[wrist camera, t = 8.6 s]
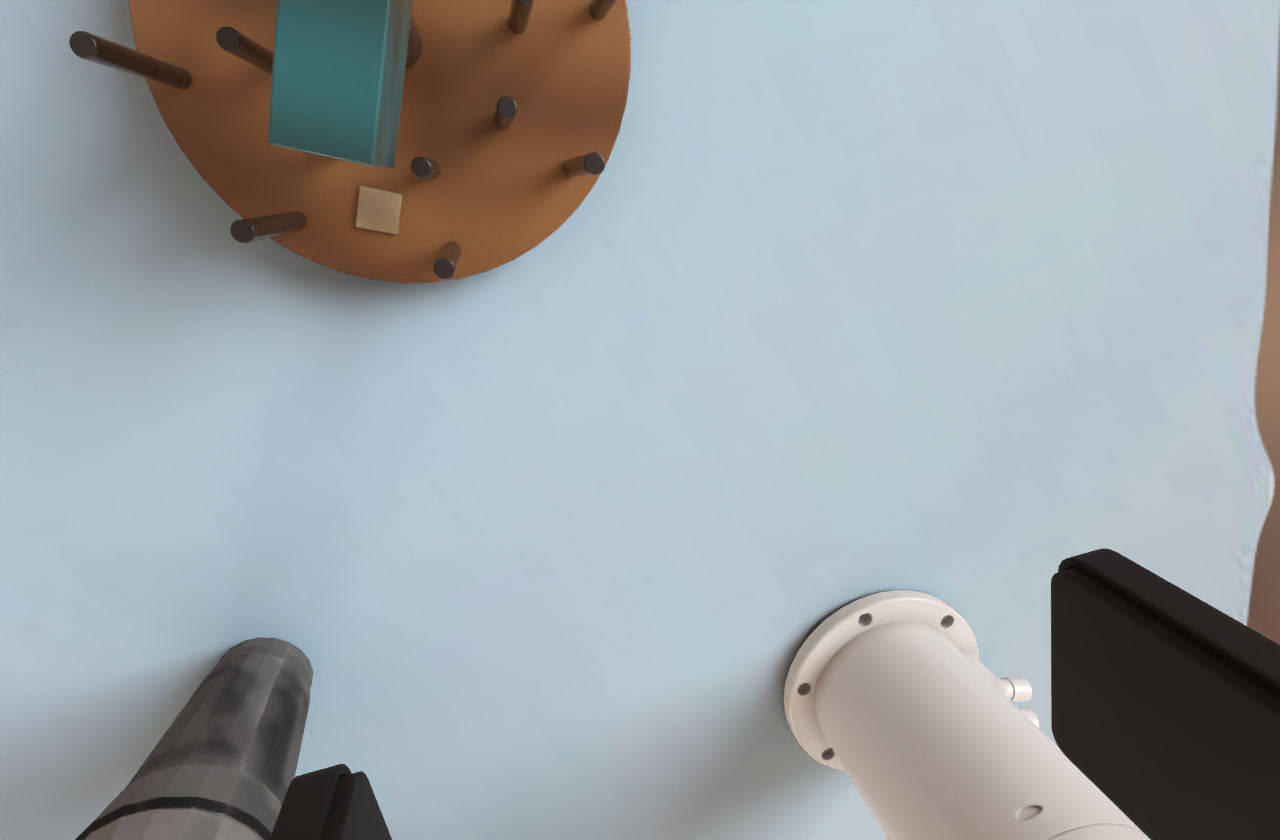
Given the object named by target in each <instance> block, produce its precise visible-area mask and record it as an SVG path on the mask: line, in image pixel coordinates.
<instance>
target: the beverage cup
mask: <svg viewBox="0 0 1280 840" xmlns="http://www.w3.org/2000/svg"><path fill="white" fill-rule="evenodd" d="M312 675H313V670H312V667H311V664H310V661H309V659H308V658H307V657H306V656H305V654H304V653H303V652H302V651H301V650H300V649H298V648H297V647H295V646H294V645H292V644H291V643H289V642H285V641H282V640H279V639H275V638H256V639H252V640H247V641H244V642H242V643H240V644H238V645H236V646H234V647H232V648H231V649H230V650H229V651H228V652H227V653H226V654H225V655H224V656H223V657H222V659H221V661H220V663H219V664H218V665H217V666H216V667H215V668H214V669H213V670H212V671H211V672H210V673H209V674H208V675H207V677H206V678H205V679H204V681H203V682H202V683H201V685H200V686H199V688H198V689H197V690H196V692H195V693H194V695H193V696H192V697H191V699H190V700H189V701H188V703H187V704H186V706H185V707H184V708H183V710H182V711H181V712H180V714H179V715H178V717H177V718H176V719H175V721H174V722H173V723H172V725H171V726H170V728H169V729H168V730H167V732H166V733H165V734H164V736H163V737H162V739H161V740H160V741H159V743H158V744H157V746H156V747H155V748H154V750H153V751H152V752H151V754H150V755H149V757H148V758H147V759H146V761H145V762H144V763H143V765H142V766H141V768H140V769H139V770H138V772H137V773H136V774H135V776H134V777H133V779H132V780H131V781H130V783H129V784H128V785H127V787H126V788H125V789H124V790H123V791H122V792H121V793H120V794H119V795H118V796H117V797H116V798H115V799H114V800H113V801H112V802H111V803H110V804H109V805H108V807H107V808H106V809H105V810H104V811H103V812H102V813H101V814H100V815H99V816H98V817H97V819H96V820H95V821H94V822H93V823H92V824H91V825H89V826H88V827H87V828H86V829H85V830H84V831H83V832H82V833H81V834H80V835H79V836H78V837H77V838H76V839H75V840H270V837H271V834H272V832H273V829H274V826H275V823H276V820H277V818H278V815H279V812H280V809H281V807H282V804H283V801H284V798H285V795H286V793H287V790H288V787H289V785H290V783H291V781H292V780H293V779H294V778H295V773H296V768H297V763H298V758H299V753H300V748H301V743H302V738H303V733H304V728H305V723H306V718H307V713H308V708H309V701H310V687H311V684H312Z"/></svg>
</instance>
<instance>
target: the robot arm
mask: <svg viewBox="0 0 1280 840" xmlns="http://www.w3.org/2000/svg"><path fill="white" fill-rule="evenodd" d="M1051 696H1052V732H1053V735H1054V739H1055V741H1056V743H1057V745H1058V747H1059V748H1060V749H1059V748H1058V747H1057V746H1056V745H1055V744H1054V743H1053V742H1052V741H1051V740H1050V739H1049V738H1048V737H1047V736H1046V735H1045V734H1044V733H1043V732H1042V731H1041V730H1040V729H1039V727H1040V725H1039V722H1038V718H1037V716H1036V715H1035V713H1034V712H1033V711H1032V710H1031V709H1029V708H1027V707H1016V706H1015V705H1014V704H1013V703H1012V702H1021V701H1029V700H1030V698H1031V697H1032V688H1031V685H1030V683H1029V682H1028V681H1027V680H1026V679H1024V678H1002V679H998V678H997V677H996V676H995V675H994V674H993V673H991V672H990V671H989V670H988V669H987V668H986V667H985V666H984V665H983V664H982V663H981V662H980V661H979V652H978V648H977V643H976V639H975V636H974V635H973V633H972V631H971V629H970V627H969V625H968V624H967V623H966V621H965V620H964V619H963V618H962V617H961V616H960V615H959V614H958V613H957V612H956V611H955V610H954V609H952V608H951V607H950V606H949V605H948V604H946V603H945V602H944V601H942V600H940V599H938V598H936V597H934V596H932V595H930V594H926V593H922V592H917V591H910V590H893V591H886V592H880V593H876V594H872V595H869V596H866V597H863V598H860V599H858V600H856V601H854V602H852V603H850V604H848V605H846V606H844V607H842V608H841V609H839V610H838V611H836V612H835V613H834V614H832V615H831V616H830V617H828V618H827V619H825V620H824V621H823V622H822V623H821V624H820V625H819V626H818V627H817V628H816V629H815V630H814V631H813V632H812V633H811V634H810V635H809V637H808V638H807V639H806V641H805V642H804V643H803V645H802V646H801V647H800V649H799V650H798V652H797V654H796V656H795V658H794V660H793V662H792V664H791V666H790V669H789V672H788V676H787V679H786V682H785V690H784V707H785V715H786V718H787V721H788V723H789V726H790V728H791V731H792V732H793V734H794V736H795V737H796V739H797V741H798V742H799V744H800V746H801V747H802V748H803V749H804V750H805V751H806V752H807V753H808V754H809V755H810V756H811V757H812V758H814V759H815V760H817V761H818V762H819V763H821V764H823V765H826V766H829V767H832V768H834V769H837V770H844V771H846V772H847V774H848V775H849V777H850V779H851V780H852V782H853V784H854V785H855V787H856V788H857V790H858V792H859V793H860V795H861V797H862V798H863V800H864V801H865V803H866V805H867V806H868V808H869V810H870V811H871V813H872V814H873V816H874V818H875V819H876V821H877V823H878V824H879V826H880V827H881V829H882V831H883V832H884V834H885V835H886V837H887V839H888V840H1280V645H1278V644H1277V643H1275V642H1273V641H1272V640H1270V639H1268V638H1266V637H1264V636H1263V635H1261V634H1259V633H1258V632H1256V631H1254V630H1252V629H1251V628H1248V627H1247V626H1245V625H1244V624H1242V623H1240V622H1238V621H1237V620H1235V619H1233V618H1231V617H1229V616H1228V615H1226V614H1224V613H1222V612H1221V611H1219V610H1217V609H1215V608H1214V607H1212V606H1210V605H1208V604H1207V603H1205V602H1203V601H1201V600H1200V599H1198V598H1196V597H1194V596H1193V595H1191V594H1189V593H1187V592H1186V591H1184V590H1182V589H1180V588H1179V587H1177V586H1175V585H1173V584H1172V583H1170V582H1168V581H1166V580H1165V579H1163V578H1161V577H1159V576H1158V575H1156V574H1154V573H1152V572H1150V571H1149V570H1147V569H1145V568H1143V567H1142V566H1140V565H1138V564H1136V563H1135V562H1133V561H1131V560H1129V559H1128V558H1126V557H1124V556H1122V555H1121V554H1119V553H1117V552H1115V551H1113V550H1110V549H1099V550H1095V551H1091V552H1088V553H1084V554H1081V555H1077V556H1074V557H1070V558H1067V559H1065V560H1063V561H1062V562H1061V564H1060V565H1059V569H1058V573H1056V574H1054V576H1053V577H1052V581H1051ZM270 840H392V839H391V836H390V834H389V831H388V828H387V826H386V823H385V821H384V818H383V816H382V813H381V811H380V808H379V806H378V803H377V800H376V798H375V795H374V793H373V790H372V788H371V785H370V783H369V780H368V778H367V776H366V774H365V773H364V772H357V773H353V774H352V773H351V771H350V769H349V768H348V767H347V766H346V765H345V764H339V765H336V766H332V767H328V768H325V769H321V770H318V771H314V772H311V773H307V774H304V775H300V776H297V777H295V778H294V779H293V780H292V781H291V783H290V785H289V787H288V790H287V793H286V795H285V798H284V801H283V804H282V807H281V809H280V812H279V815H278V818H277V820H276V823H275V826H274V829H273V832H272V834H271V837H270Z"/></svg>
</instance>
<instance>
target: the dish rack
mask: <svg viewBox="0 0 1280 840" xmlns="http://www.w3.org/2000/svg"><path fill="white" fill-rule="evenodd" d="M129 4H130V15H131V21H132V26H133V32H134V37H135V43H136V48H137V51H135V50H132V49H130V48H127V47H124V46H122V45H119V44H116V43H114V42H111V41H109V40H106V39H103V38H101V37H98V36H95V35H93V34H90V33H88V32H85V31H77V32H75V33H73V34H72V35H71V37H70V41H69V42H70V47H71V49H72V51H73V52H74V53H75V54H76V55H77V56H79V57H80V58H83V59H86V60H89V61H93V62H96V63H99V64H102V65H105V66H109V67H112V68H115V69H118V70H121V71H125V72H128V73H131V74H134V75H138V76H141V77H144V78H146V81H147V84H148V86H149V88H150V91H151V93H152V95H153V97H154V100H155V102H156V104H157V106H158V109H159V111H160V113H161V115H162V118H163V120H164V121H165V123H166V125H167V126H168V128H169V130H170V131H171V133H172V135H173V136H174V138H175V140H176V141H177V143H178V145H179V146H180V148H181V150H182V151H183V153H184V154H185V155H186V157H187V158H188V159H189V161H190V162H191V163H192V165H193V166H194V167H195V168H196V170H197V171H198V172H199V174H200V175H201V176H202V178H203V179H204V180H205V181H206V182H207V183H208V184H209V185H210V186H211V188H212V189H213V190H214V191H215V192H216V193H217V194H218V195H219V196H220V197H221V198H222V199H223V200H224V201H225V202H226V203H227V204H228V205H229V206H230V207H231V208H232V209H233V210H235V211H236V212H237V213H238V214H239V215H241V216H242V217H243V218H244V219H241V220H237V221H235V222H233V224H232V225H231V229H230V231H231V235H232V236H233V238H234V239H235V240H236V241H238V242H240V243H249V242H253V241H257V240H261V239H265V238H269V237H270V238H271V239H273V240H274V241H276V242H277V243H279V244H280V245H282V246H284V247H286V248H287V249H289V250H291V251H293V252H295V253H297V254H299V255H301V256H303V257H305V258H307V259H309V260H311V261H313V262H316V263H319V264H321V265H324V266H327V267H329V268H332V269H335V270H337V271H340V272H343V273H347V274H351V275H356V276H360V277H364V278H368V279H372V280H381V281H389V282H398V283H433V282H440V281H447V280H454V279H461V278H464V277H468V276H471V275H475V274H478V273H482V272H486V271H489V270H491V269H493V268H496V267H498V266H500V265H502V264H505V263H507V262H509V261H512V260H514V259H515V258H517V257H519V256H520V255H522V254H524V253H525V252H527V251H529V250H530V249H532V248H534V247H535V246H537V245H538V244H539V243H541V242H542V241H543V240H544V239H546V238H547V237H548V236H549V235H551V234H552V233H553V232H554V231H556V230H557V229H558V228H559V227H560V226H561V225H562V224H563V223H564V222H565V221H566V220H567V219H568V218H569V217H570V216H571V215H572V214H573V212H574V211H575V210H576V209H577V208H578V207H579V206H580V204H581V203H582V201H583V200H584V199H585V197H586V196H587V195H588V193H589V192H590V190H591V189H592V188H593V186H594V185H595V183H596V181H597V179H598V177H599V176H600V174H601V173H602V172H603V170H604V168H605V165H606V163H607V161H608V159H609V156H610V154H611V151H612V149H613V146H614V143H615V141H616V138H617V136H618V133H619V130H620V126H621V122H622V118H623V114H624V110H625V106H626V102H627V94H628V86H629V78H630V53H631V38H630V29H629V19H628V10H627V3H626V0H129Z"/></svg>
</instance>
